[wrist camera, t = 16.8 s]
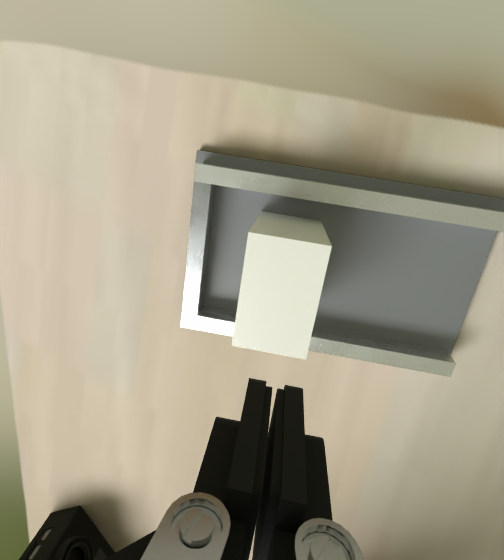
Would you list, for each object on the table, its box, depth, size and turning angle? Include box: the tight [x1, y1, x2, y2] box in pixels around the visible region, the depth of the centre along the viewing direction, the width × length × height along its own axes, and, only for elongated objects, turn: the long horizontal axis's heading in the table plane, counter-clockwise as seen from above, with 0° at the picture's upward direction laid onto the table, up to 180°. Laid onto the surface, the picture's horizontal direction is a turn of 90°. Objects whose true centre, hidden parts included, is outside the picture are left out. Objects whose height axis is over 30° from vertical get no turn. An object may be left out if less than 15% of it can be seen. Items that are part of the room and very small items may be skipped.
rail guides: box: [181, 163, 504, 377], centre depth 27 cm, size 21×12×2 cm, turn 82°
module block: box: [232, 211, 332, 360], centre depth 24 cm, size 4×7×8 cm, turn 172°
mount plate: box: [196, 150, 504, 355], centre depth 28 cm, size 22×14×1 cm, turn 82°
